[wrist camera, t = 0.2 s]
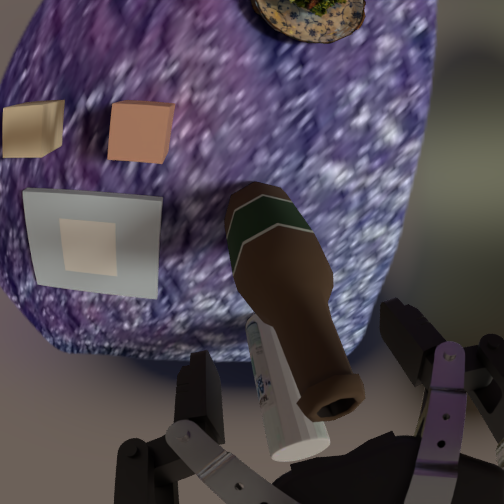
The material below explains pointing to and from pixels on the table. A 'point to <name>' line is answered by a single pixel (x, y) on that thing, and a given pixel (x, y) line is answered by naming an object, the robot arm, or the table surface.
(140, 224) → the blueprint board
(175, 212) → the table surface
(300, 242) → the beer bottle
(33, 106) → the maple block
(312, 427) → the spray can
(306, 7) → the burger
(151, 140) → the terracotta block
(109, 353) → the table surface
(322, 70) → the table surface
